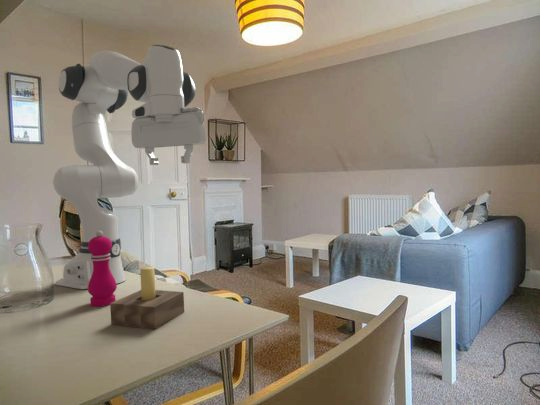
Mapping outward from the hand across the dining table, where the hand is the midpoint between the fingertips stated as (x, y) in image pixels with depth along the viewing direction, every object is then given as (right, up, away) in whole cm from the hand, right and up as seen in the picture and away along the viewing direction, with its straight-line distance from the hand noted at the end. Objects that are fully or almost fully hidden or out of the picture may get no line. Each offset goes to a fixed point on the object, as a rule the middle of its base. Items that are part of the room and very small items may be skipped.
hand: (169, 164), depth 101 cm
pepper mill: (-20, -38, +6) cm, 43 cm away
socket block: (-3, -38, -7) cm, 38 cm away
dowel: (-3, -38, -7) cm, 38 cm away
